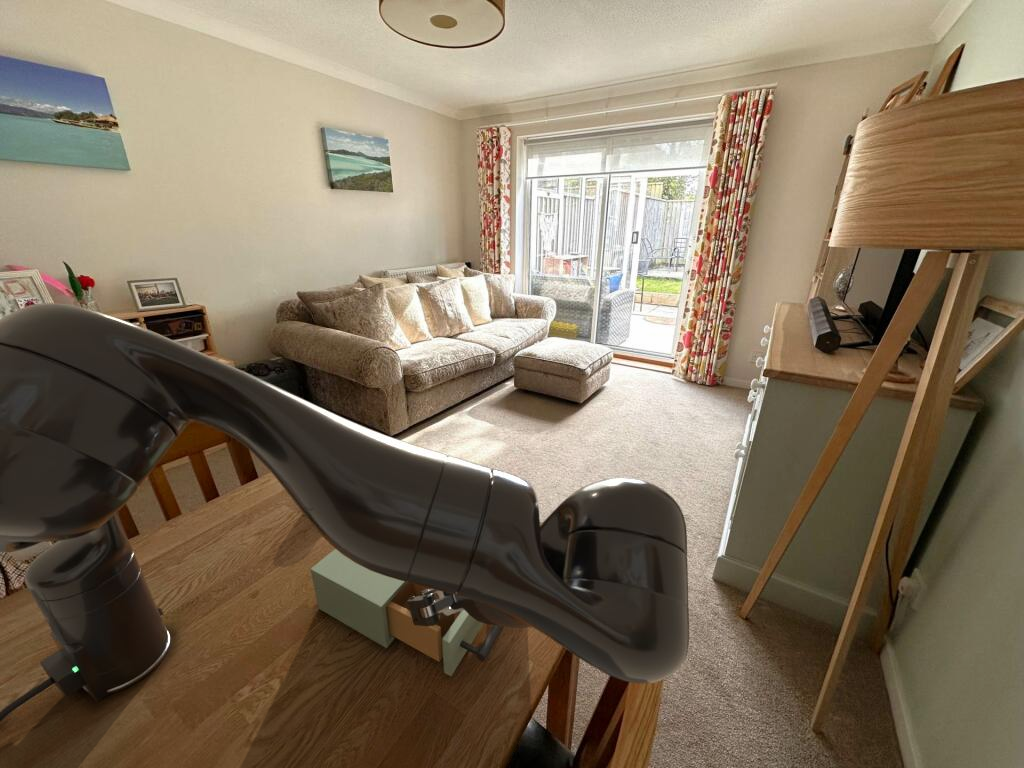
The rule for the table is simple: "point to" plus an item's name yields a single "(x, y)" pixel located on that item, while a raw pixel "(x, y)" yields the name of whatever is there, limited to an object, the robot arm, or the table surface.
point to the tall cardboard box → (444, 619)
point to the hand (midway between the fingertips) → (457, 584)
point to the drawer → (438, 633)
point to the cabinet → (355, 595)
